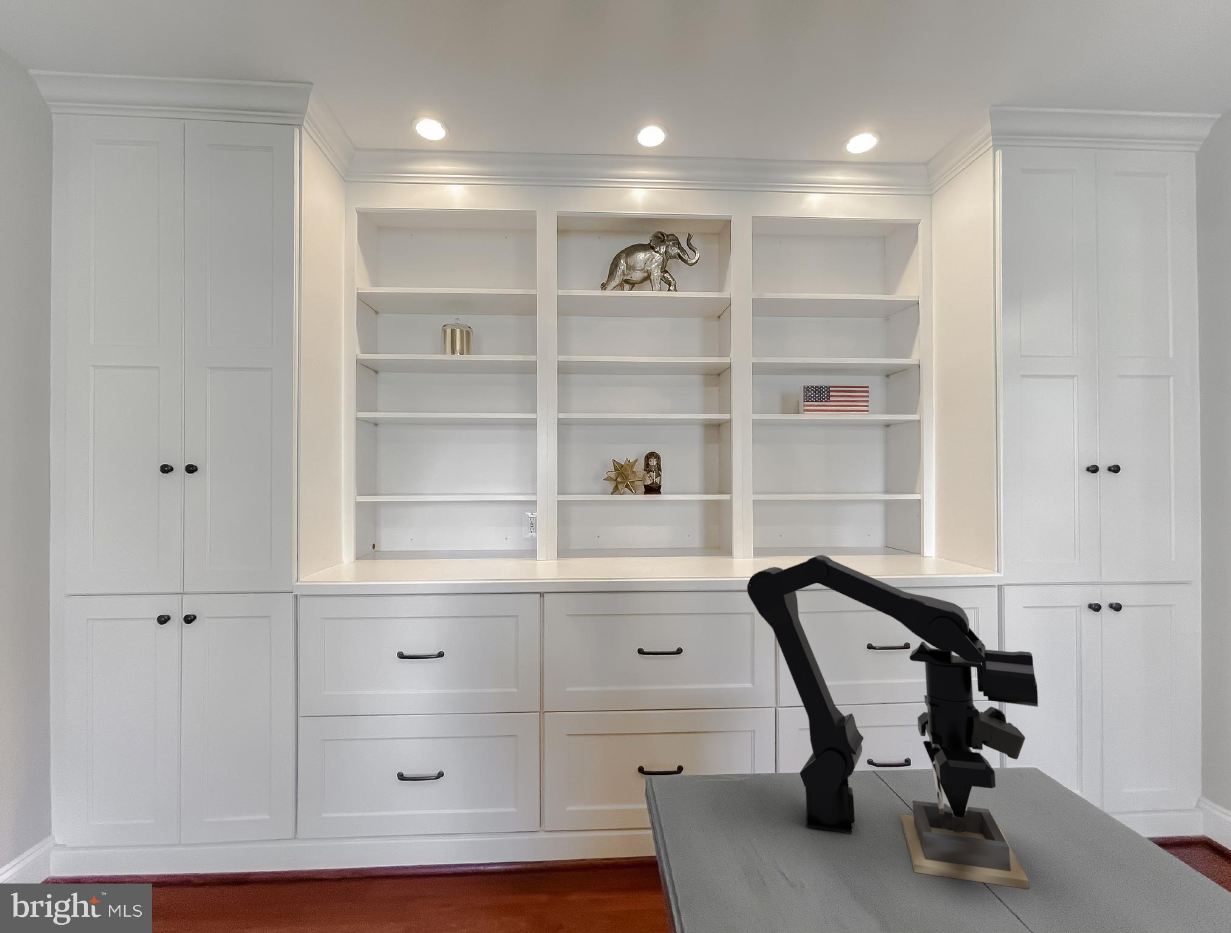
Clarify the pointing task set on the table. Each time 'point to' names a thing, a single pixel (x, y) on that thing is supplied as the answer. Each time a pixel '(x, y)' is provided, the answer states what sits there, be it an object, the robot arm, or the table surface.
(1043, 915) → the table surface
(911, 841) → the dock
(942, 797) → the milkshake
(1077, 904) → the table surface
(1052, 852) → the table surface
